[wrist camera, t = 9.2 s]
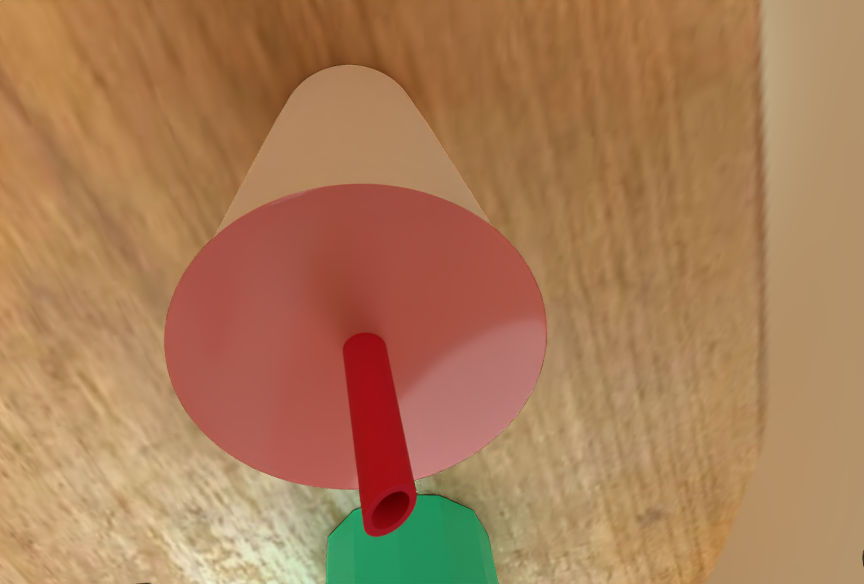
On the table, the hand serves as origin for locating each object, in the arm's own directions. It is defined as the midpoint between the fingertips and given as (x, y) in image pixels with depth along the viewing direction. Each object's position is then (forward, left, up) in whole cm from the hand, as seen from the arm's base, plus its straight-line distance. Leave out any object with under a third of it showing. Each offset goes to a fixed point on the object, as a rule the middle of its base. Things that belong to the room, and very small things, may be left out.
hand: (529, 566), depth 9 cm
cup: (+2, -1, -12) cm, 12 cm away
